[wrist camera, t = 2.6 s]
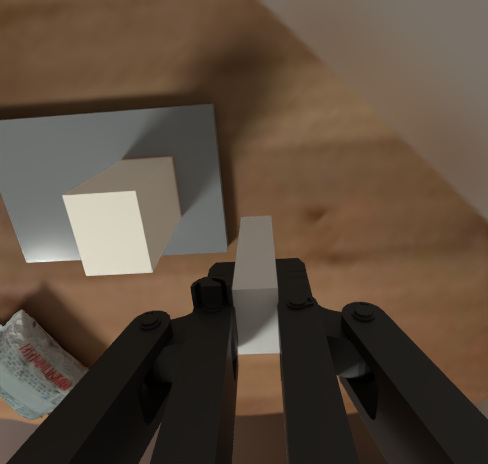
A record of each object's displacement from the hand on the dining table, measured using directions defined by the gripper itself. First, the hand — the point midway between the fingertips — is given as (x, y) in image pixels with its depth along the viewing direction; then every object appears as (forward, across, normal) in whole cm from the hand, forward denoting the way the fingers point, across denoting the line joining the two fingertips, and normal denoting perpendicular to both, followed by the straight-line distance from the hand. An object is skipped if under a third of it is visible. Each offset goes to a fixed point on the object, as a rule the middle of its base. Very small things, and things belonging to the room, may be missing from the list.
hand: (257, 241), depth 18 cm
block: (+10, -8, 0) cm, 13 cm away
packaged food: (+12, -23, -17) cm, 31 cm away
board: (+12, -12, 0) cm, 17 cm away
